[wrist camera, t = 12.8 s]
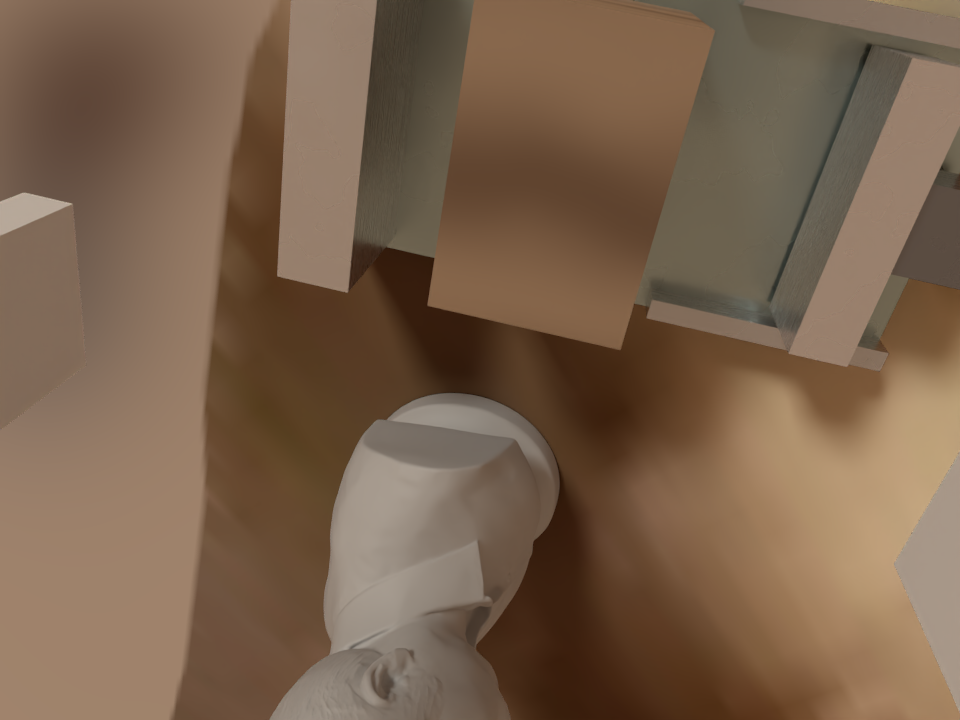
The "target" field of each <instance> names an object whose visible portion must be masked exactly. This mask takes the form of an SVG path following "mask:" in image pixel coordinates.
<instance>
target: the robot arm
mask: <svg viewBox="0 0 960 720" xmlns="http://www.w3.org/2000/svg"><path fill="white" fill-rule="evenodd" d="M85 366H86V353H85V342H84V330H83V319H82V307H81V295H80V283H79V273H78V260H77V248H76V237H75V225H74V214H73V204H71V203H66V202H62V201H57V200H53V199H49V198H45V197H41V196H36V195H32V194H28V193H22V194H19V195H16V196H14V197H11V198H9V199H6V200H3V201H1V202H0V430H1V429H2V428H3V427H5V426H6V425H8V424H9V423H10V422H12V421H13V420H14V419H16V418H17V417H18V416H20V415H21V414H22V413H24V412H25V411H26V410H28V409H29V408H30V407H31V406H33V405H34V404H36V403H37V402H38V401H40V400H41V399H42V398H44V397H45V396H46V395H48V394H49V393H50V392H52V391H53V390H54V389H56V388H57V387H58V386H60V385H61V384H62V383H64V382H65V381H66V380H68V379H69V378H70V377H71V376H73V375H74V374H76V373H77V372H78V371H80V370H81V369H82V368H84V367H85ZM894 565H895V568H896V570H897V572H898V574H899V577H900V579H901V581H902V583H903V586H904V588H905V590H906V592H907V595H908V597H909V599H910V602H911V604H912V606H913V608H914V611H915V613H916V615H917V617H918V620H919V622H920V624H921V626H922V629H923V631H924V633H925V635H926V638H927V640H928V642H929V644H930V647H931V649H932V651H933V653H934V656H935V658H936V660H937V663H938V665H939V667H940V669H941V672H942V674H943V676H944V678H945V681H946V683H947V685H948V687H949V690H950V692H951V694H952V696H953V699H954V701H955V703H956V705H957V708H958V710H959V712H960V452H959V454H958V455H957V457H956V459H955V460H954V462H953V464H952V465H951V467H950V469H949V471H948V472H947V474H946V476H945V477H944V479H943V481H942V483H941V484H940V486H939V488H938V489H937V491H936V493H935V494H934V496H933V498H932V500H931V501H930V503H929V505H928V506H927V508H926V510H925V512H924V513H923V515H922V517H921V518H920V520H919V522H918V524H917V525H916V527H915V529H914V530H913V532H912V534H911V535H910V537H909V539H908V541H907V542H906V544H905V546H904V547H903V549H902V551H901V553H900V554H899V556H898V558H897V559H896V561H895V563H894Z"/></svg>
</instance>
